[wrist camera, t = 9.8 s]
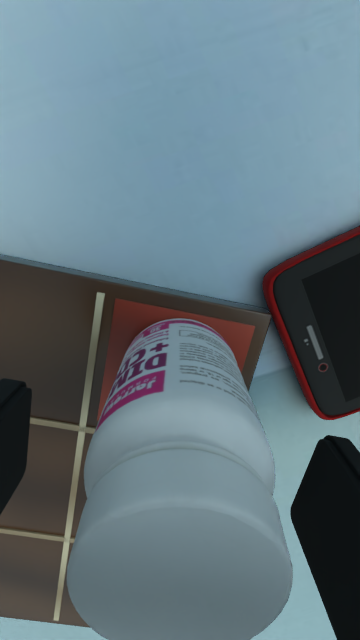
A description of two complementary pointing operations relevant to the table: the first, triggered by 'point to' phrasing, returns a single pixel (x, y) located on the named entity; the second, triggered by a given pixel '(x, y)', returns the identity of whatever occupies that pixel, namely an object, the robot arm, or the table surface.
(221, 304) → the grid board
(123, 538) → the pill bottle
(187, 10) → the table surface
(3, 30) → the table surface
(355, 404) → the cell phone
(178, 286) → the table surface
